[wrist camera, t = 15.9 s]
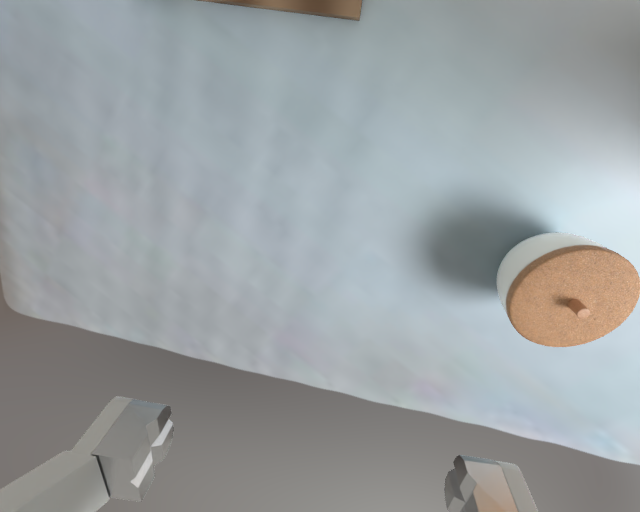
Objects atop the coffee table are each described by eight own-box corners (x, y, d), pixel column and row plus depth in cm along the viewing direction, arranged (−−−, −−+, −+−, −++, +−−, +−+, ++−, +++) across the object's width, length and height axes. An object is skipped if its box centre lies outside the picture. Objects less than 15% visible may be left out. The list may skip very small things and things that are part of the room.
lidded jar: (517, 317, 41) (557, 377, 32) (462, 260, 38) (491, 309, 30) (607, 264, 36) (680, 317, 28) (553, 196, 34) (616, 232, 26)
